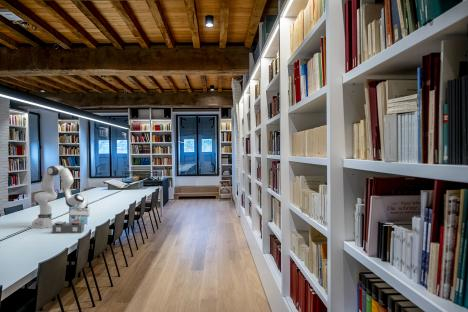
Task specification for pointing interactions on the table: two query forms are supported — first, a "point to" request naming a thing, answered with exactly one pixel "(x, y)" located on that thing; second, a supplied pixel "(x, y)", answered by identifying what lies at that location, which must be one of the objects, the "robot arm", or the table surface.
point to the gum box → (72, 219)
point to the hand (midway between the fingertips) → (77, 219)
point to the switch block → (68, 227)
